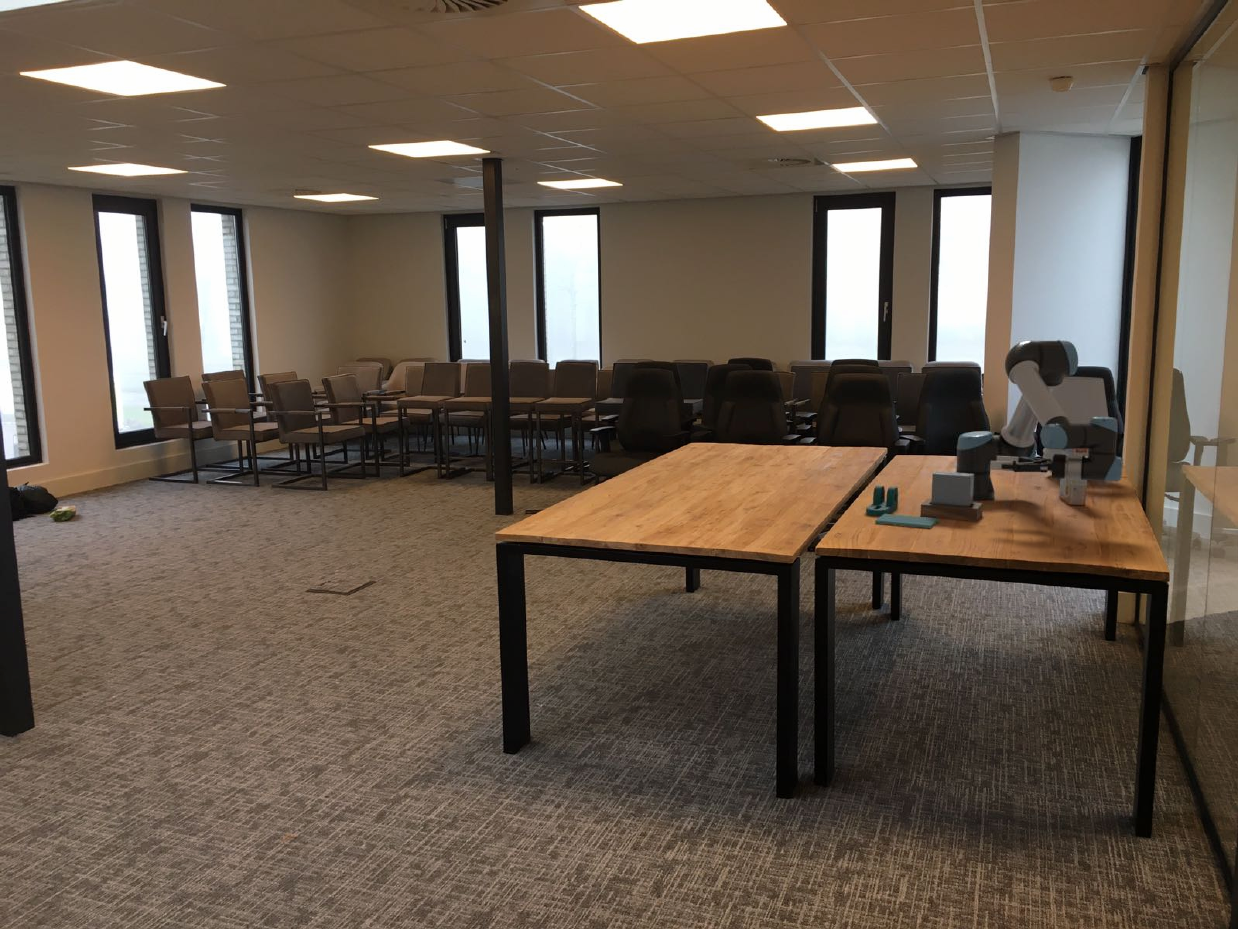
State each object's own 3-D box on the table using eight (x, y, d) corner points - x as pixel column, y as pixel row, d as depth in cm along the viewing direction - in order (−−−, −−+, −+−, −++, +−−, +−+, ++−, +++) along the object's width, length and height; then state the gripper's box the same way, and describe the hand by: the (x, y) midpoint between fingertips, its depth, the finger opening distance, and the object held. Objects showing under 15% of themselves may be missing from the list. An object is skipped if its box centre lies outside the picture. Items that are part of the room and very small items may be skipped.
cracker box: (1086, 506, 342) (1090, 445, 339) (1067, 505, 344) (1071, 445, 341) (1076, 498, 356) (1080, 440, 353) (1058, 498, 357) (1062, 440, 354)
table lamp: (1109, 483, 387) (1116, 380, 381) (1039, 480, 395) (1045, 379, 389) (1099, 473, 411) (1106, 376, 405) (1033, 471, 419) (1039, 375, 413)
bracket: (877, 506, 344) (878, 484, 343) (897, 508, 340) (898, 485, 339) (863, 515, 328) (864, 492, 327) (883, 517, 325) (884, 494, 324)
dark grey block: (934, 512, 332) (936, 471, 330) (971, 516, 326) (974, 473, 324) (930, 515, 327) (932, 473, 325) (968, 519, 321) (971, 476, 319)
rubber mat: (884, 516, 325) (884, 513, 325) (937, 521, 317) (938, 518, 317) (875, 523, 315) (875, 520, 315) (930, 528, 307) (930, 525, 307)
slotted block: (927, 510, 336) (928, 498, 335) (982, 515, 327) (982, 503, 327) (920, 516, 326) (920, 504, 325) (976, 521, 317) (977, 509, 317)
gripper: (1062, 484, 297) (987, 479, 307) (1068, 473, 319) (998, 469, 329) (1063, 459, 296) (988, 455, 306) (1070, 450, 318) (999, 446, 328)
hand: (993, 462), depth 317 cm, fingers open, 13 cm apart
